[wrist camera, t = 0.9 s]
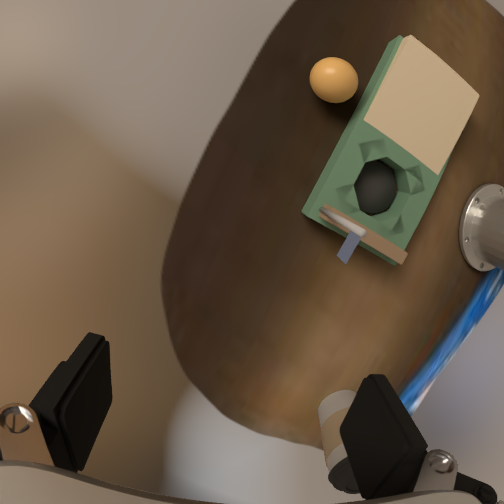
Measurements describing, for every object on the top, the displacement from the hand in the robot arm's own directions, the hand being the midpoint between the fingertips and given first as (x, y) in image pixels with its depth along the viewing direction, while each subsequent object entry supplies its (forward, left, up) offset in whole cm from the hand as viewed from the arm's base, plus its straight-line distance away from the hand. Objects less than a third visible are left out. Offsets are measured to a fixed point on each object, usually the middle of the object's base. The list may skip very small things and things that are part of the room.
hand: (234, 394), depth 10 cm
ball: (-15, -13, -23) cm, 30 cm away
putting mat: (-20, -4, -25) cm, 33 cm away
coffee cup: (-6, +30, -26) cm, 40 cm away
